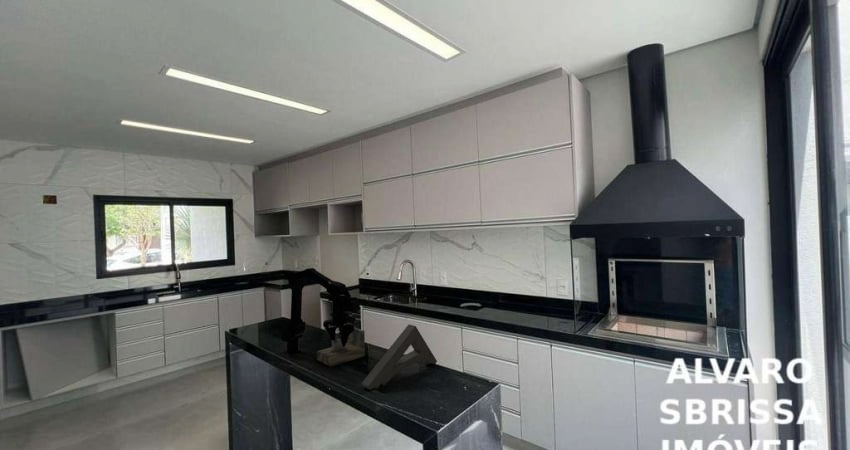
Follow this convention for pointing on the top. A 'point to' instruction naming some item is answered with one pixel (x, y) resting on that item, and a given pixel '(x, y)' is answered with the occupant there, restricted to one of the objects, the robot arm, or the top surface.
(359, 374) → the top surface
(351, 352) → the post base
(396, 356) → the wall bracket
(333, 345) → the bracket plate
